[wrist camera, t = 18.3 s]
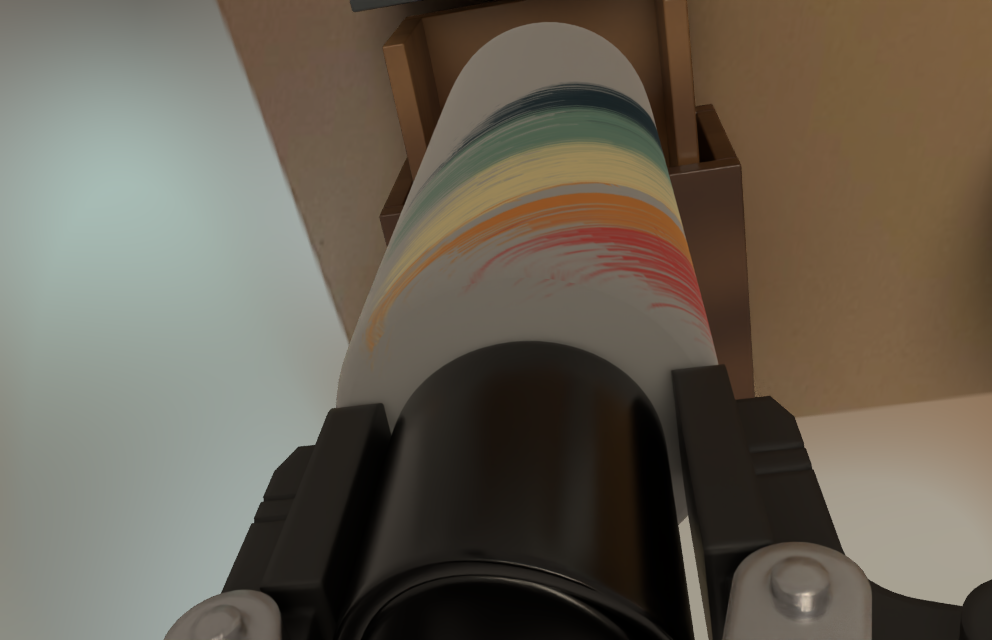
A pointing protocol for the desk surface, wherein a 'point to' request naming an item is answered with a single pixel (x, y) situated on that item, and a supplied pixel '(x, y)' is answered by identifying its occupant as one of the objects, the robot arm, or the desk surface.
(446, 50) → the drawer
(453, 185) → the white striped bottle
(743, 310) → the cabinet
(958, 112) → the desk surface
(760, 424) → the robot arm
